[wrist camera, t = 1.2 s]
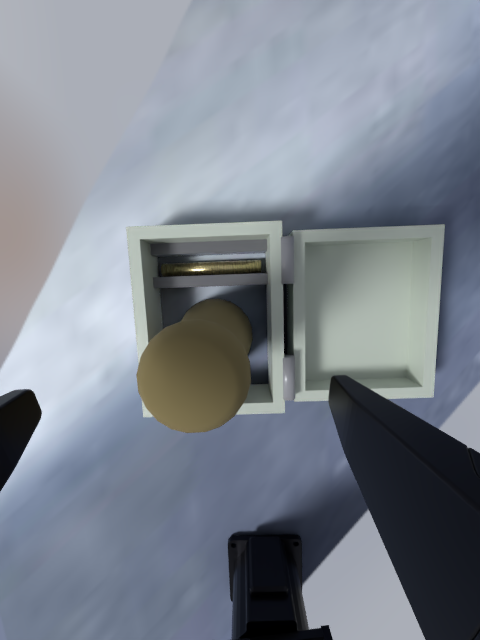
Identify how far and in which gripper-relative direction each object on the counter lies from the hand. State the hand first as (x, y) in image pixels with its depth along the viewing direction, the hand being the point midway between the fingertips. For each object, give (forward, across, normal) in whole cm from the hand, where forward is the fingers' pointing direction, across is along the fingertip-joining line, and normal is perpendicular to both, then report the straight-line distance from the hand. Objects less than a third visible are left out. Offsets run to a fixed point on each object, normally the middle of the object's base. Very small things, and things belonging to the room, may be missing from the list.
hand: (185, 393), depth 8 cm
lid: (+13, -11, +3) cm, 17 cm away
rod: (+15, 0, -1) cm, 15 cm away
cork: (+13, 0, +5) cm, 14 cm away
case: (+13, 0, +3) cm, 14 cm away
